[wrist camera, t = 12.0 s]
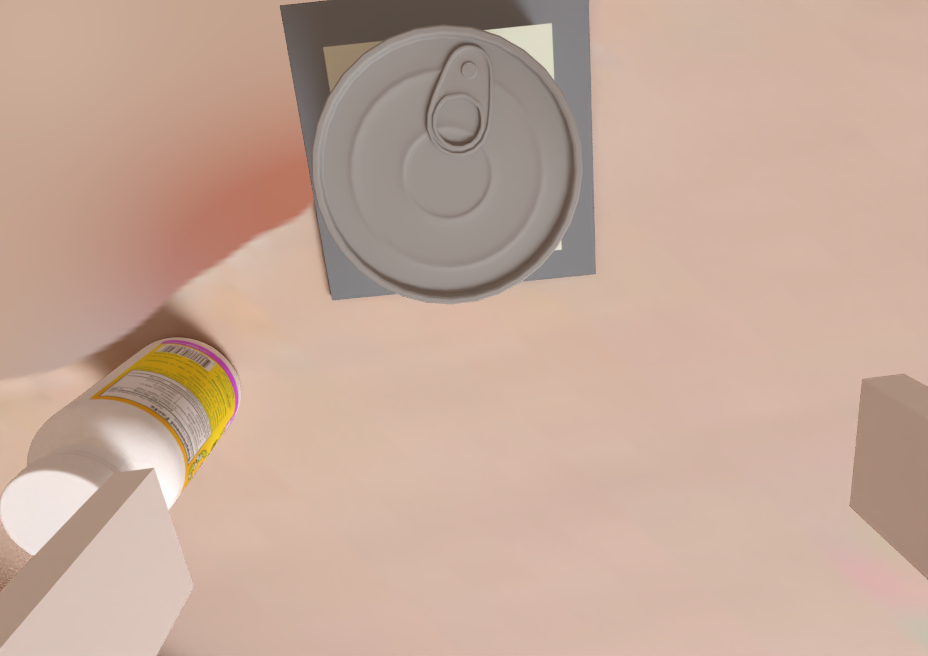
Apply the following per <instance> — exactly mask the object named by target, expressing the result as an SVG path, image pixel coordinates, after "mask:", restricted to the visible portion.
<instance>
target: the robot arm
mask: <svg viewBox="0 0 928 656" xmlns="http://www.w3.org/2000/svg"><path fill="white" fill-rule="evenodd" d="M850 507H851V508H852V509H853V510H854V511H855V512H856V513H857V514H858V515H859V516H860V517H861V518H863V519H864V520H865V521H866V522H867V523H868V524H869V525H870V526H871V527H872V528H873V529H874V530H875V531H876V532H877V533H879V534H880V535H881V536H882V537H883V538H884V539H885V540H886V541H887V542H888V543H889V544H890V545H891V546H892V547H894V548H895V549H896V550H897V551H898V552H899V553H900V554H901V555H902V556H903V557H904V558H905V559H906V560H907V561H908V562H910V563H911V564H912V565H913V566H914V567H915V568H916V569H917V570H918V571H919V572H920V573H921V574H922V575H923V576H924V577H926V578H927V579H928V387H927V386H926V385H924V384H922V383H920V382H918V381H916V380H914V379H913V378H911V377H909V376H907V375H905V374H899V375H891V376H883V377H875V378H867V379H862V385H861V395H860V405H859V416H858V426H857V436H856V446H855V456H854V467H853V477H852V487H851V497H850ZM193 588H194V586H193V583H192V580H191V577H190V574H189V571H188V568H187V565H186V562H185V559H184V556H183V553H182V550H181V547H180V544H179V541H178V538H177V535H176V532H175V529H174V526H173V523H172V520H171V517H170V514H169V511H168V508H167V505H166V502H165V499H164V496H163V493H162V490H161V487H160V484H159V481H158V477H157V474H156V471H155V468H148V469H140V470H132V471H124V472H116V473H113V474H112V475H111V476H110V477H109V478H108V479H107V480H106V481H105V482H104V483H103V484H102V485H101V486H100V487H99V488H98V490H97V491H96V492H95V493H94V494H93V495H92V496H91V497H90V498H89V499H88V500H87V501H86V502H85V503H84V504H83V505H82V506H81V507H80V508H79V509H78V510H77V511H76V512H75V514H74V515H73V516H72V517H71V518H70V519H69V520H68V521H67V522H66V523H65V524H64V525H63V526H62V527H61V528H60V529H59V530H58V531H57V532H56V533H55V534H54V535H53V537H52V538H51V539H50V540H49V541H48V542H47V543H46V544H45V545H44V546H43V547H42V548H41V549H40V550H39V551H38V552H37V553H36V554H35V555H34V556H33V557H32V558H31V560H30V561H29V562H28V563H27V564H26V565H25V566H24V567H23V568H22V569H21V570H20V571H19V572H18V573H17V574H16V575H15V576H14V577H13V578H12V579H11V580H10V581H9V582H8V584H7V585H6V586H5V587H4V588H3V589H2V590H1V591H0V656H157V654H158V652H159V650H160V648H161V647H162V645H163V643H164V641H165V639H166V637H167V636H168V634H169V632H170V630H171V628H172V626H173V625H174V623H175V621H176V619H177V617H178V615H179V614H180V612H181V610H182V608H183V606H184V604H185V603H186V601H187V599H188V597H189V595H190V593H191V592H192V590H193Z"/></svg>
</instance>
